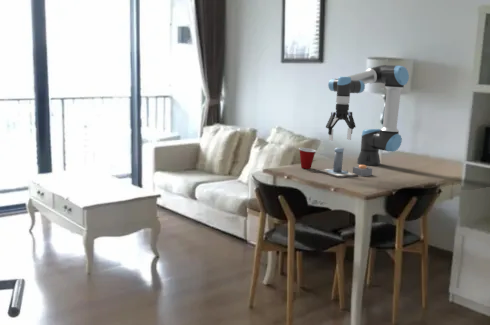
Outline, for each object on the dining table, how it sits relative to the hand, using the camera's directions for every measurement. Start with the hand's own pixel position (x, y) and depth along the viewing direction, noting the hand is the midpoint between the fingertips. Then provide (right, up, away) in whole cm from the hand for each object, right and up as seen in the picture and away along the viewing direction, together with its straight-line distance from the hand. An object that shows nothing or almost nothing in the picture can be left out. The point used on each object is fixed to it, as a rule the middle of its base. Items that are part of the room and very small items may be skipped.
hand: (339, 139), depth 323 cm
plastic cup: (-18, -17, +17) cm, 30 cm away
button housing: (+14, -20, +5) cm, 25 cm away
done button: (+14, -17, +5) cm, 23 cm away
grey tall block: (-1, -19, +3) cm, 19 cm away
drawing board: (-1, -20, +3) cm, 20 cm away
